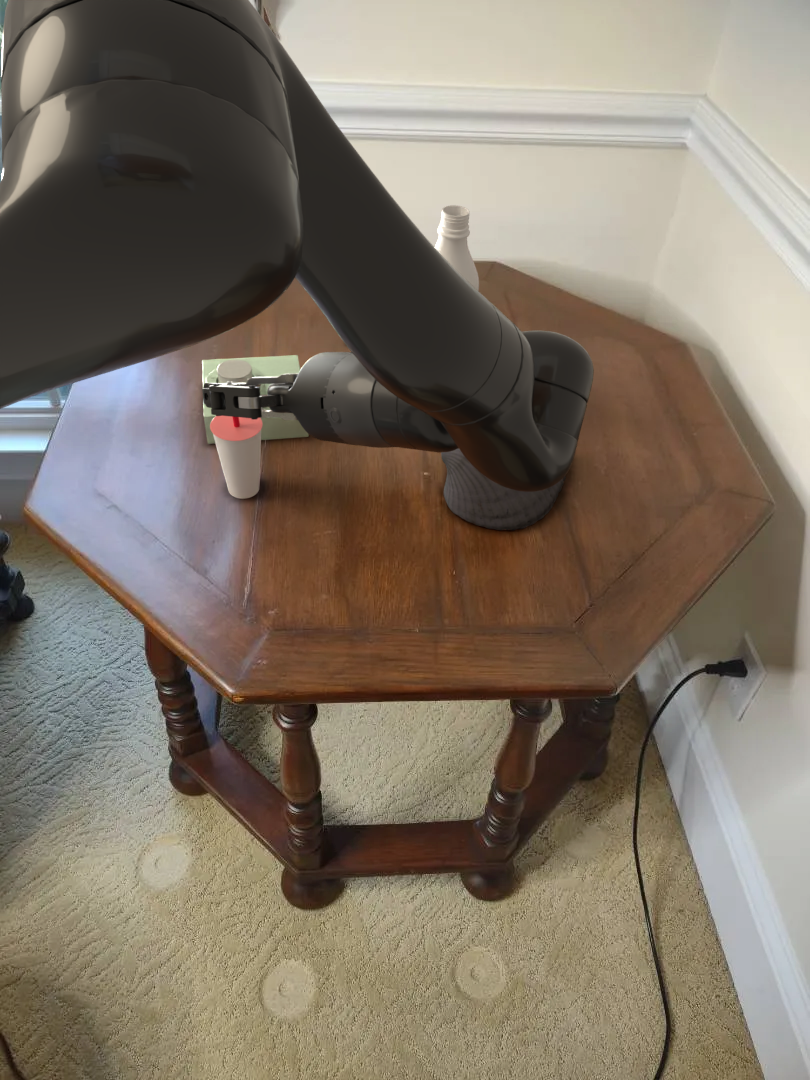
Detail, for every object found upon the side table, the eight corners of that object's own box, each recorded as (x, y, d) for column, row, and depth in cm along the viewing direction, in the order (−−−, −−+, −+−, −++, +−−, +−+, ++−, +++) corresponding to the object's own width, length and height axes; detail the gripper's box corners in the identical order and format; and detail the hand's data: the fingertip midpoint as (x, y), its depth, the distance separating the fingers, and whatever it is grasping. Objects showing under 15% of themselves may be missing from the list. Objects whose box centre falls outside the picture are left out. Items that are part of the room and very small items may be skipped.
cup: (240, 511, 84) (229, 422, 75) (209, 488, 86) (195, 399, 77) (277, 489, 86) (271, 401, 78) (247, 466, 89) (237, 378, 80)
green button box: (207, 444, 91) (201, 402, 87) (206, 386, 99) (200, 345, 95) (308, 436, 93) (307, 395, 89) (298, 381, 102) (297, 341, 97)
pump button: (219, 394, 89) (217, 379, 88) (218, 375, 92) (216, 360, 90) (254, 392, 90) (252, 377, 88) (252, 373, 92) (250, 358, 91)
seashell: (410, 508, 89) (408, 458, 83) (491, 416, 99) (496, 365, 93) (518, 560, 84) (525, 511, 78) (593, 457, 94) (604, 407, 88)
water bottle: (470, 397, 101) (498, 206, 84) (450, 426, 97) (474, 230, 79) (421, 382, 103) (438, 192, 85) (398, 409, 98) (411, 214, 81)
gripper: (420, 348, 67) (300, 347, 77) (291, 356, 57) (174, 354, 67) (421, 434, 69) (305, 422, 79) (297, 457, 59) (183, 439, 70)
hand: (245, 391), depth 73 cm, fingers open, 8 cm apart
